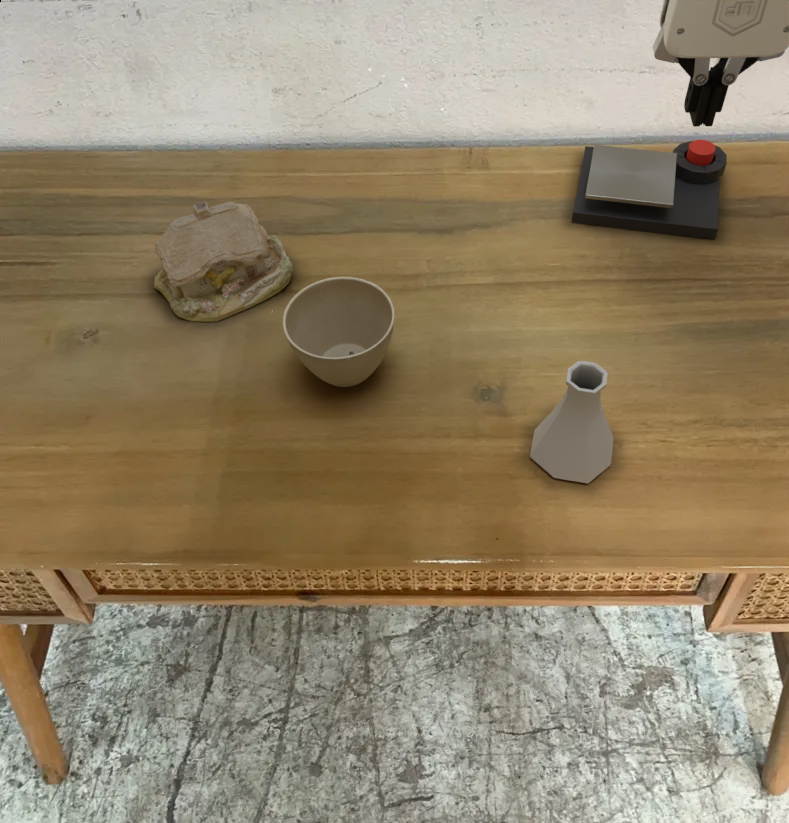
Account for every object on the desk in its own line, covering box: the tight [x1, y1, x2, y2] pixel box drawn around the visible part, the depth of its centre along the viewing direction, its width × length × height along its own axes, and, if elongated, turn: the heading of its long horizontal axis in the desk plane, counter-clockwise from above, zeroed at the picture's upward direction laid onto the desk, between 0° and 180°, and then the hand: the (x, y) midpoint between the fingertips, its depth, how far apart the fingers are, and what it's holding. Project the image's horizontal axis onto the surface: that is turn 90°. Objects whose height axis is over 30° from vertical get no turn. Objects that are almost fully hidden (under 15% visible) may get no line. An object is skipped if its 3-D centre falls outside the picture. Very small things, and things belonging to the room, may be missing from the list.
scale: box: [571, 140, 728, 240], centre depth 92 cm, size 15×13×3 cm
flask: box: [529, 360, 615, 484], centre depth 69 cm, size 7×7×10 cm
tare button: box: [686, 139, 716, 166], centre depth 91 cm, size 3×3×2 cm
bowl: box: [282, 276, 396, 388], centre depth 77 cm, size 10×10×7 cm
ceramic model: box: [153, 200, 293, 323], centre depth 84 cm, size 14×11×10 cm
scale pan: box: [585, 144, 677, 208], centre depth 90 cm, size 9×9×1 cm
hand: (699, 117), depth 76 cm, fingers closed
